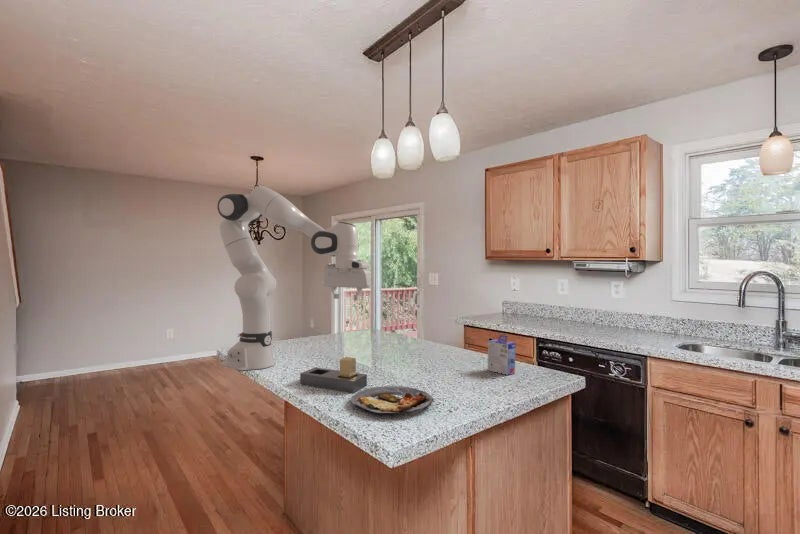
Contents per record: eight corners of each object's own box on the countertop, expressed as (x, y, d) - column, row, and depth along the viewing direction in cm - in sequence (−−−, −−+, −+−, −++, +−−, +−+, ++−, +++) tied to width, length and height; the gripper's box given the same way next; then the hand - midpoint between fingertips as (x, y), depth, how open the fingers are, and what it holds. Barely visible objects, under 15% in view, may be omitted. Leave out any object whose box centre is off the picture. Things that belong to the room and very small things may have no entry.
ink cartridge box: (516, 373, 160) (516, 336, 160) (508, 375, 156) (508, 338, 156) (495, 368, 167) (495, 333, 167) (487, 370, 164) (487, 334, 163)
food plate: (448, 404, 124) (447, 393, 124) (393, 427, 108) (393, 414, 108) (392, 388, 142) (391, 378, 142) (337, 405, 126) (337, 394, 126)
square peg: (339, 388, 140) (339, 359, 140) (345, 385, 144) (346, 357, 144) (349, 389, 138) (349, 360, 138) (355, 386, 142) (355, 358, 142)
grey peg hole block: (300, 384, 144) (300, 373, 144) (315, 377, 152) (315, 367, 152) (353, 393, 135) (353, 381, 135) (366, 385, 143) (366, 374, 143)
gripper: (319, 263, 159) (319, 298, 160) (365, 263, 151) (365, 300, 151) (328, 263, 165) (328, 297, 165) (373, 263, 157) (373, 299, 157)
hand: (346, 299), depth 158 cm, fingers open, 8 cm apart
